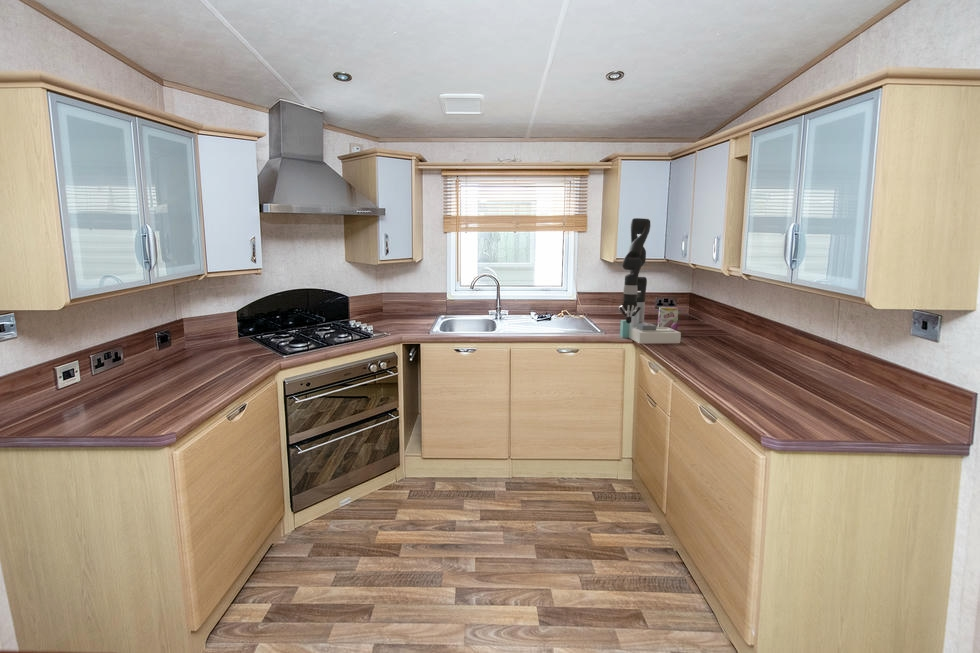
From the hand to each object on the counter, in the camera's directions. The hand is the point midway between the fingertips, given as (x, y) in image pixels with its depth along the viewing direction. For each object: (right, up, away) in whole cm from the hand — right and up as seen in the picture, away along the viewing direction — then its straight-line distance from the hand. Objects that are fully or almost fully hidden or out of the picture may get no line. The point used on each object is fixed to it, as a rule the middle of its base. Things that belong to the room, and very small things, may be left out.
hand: (628, 323), depth 296 cm
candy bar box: (+31, -6, +25) cm, 40 cm away
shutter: (+11, -4, +2) cm, 12 cm away
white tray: (+16, -10, +4) cm, 19 cm away
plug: (+1, -8, +12) cm, 15 cm away
